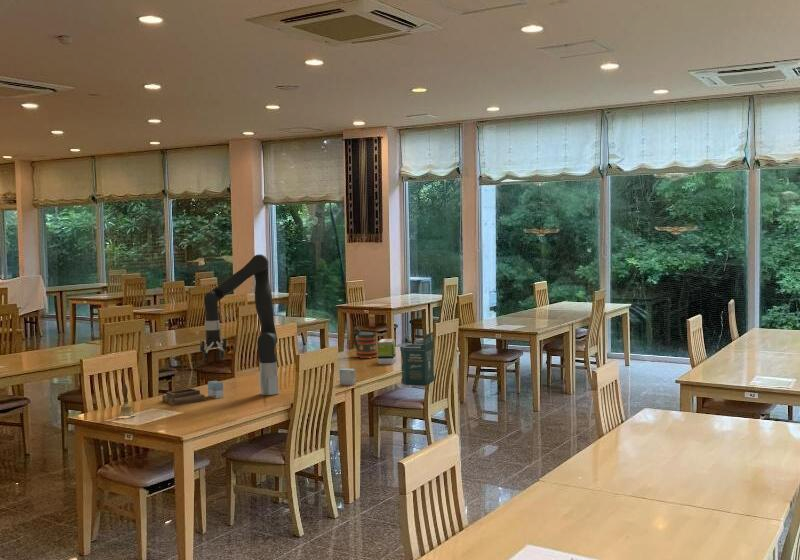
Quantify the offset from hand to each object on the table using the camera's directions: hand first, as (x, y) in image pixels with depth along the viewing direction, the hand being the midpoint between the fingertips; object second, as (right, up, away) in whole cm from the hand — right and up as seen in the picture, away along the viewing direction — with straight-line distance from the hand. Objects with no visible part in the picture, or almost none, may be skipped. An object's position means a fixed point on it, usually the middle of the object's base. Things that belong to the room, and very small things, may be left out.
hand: (213, 358), depth 426 cm
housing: (+1, -20, 0) cm, 20 cm away
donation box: (+109, -16, +25) cm, 113 cm away
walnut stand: (-14, -21, -9) cm, 27 cm away
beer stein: (+75, -11, +125) cm, 146 cm away
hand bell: (-32, -24, -43) cm, 59 cm away
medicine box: (+70, -17, +25) cm, 76 cm away
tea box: (+91, -12, +99) cm, 135 cm away
